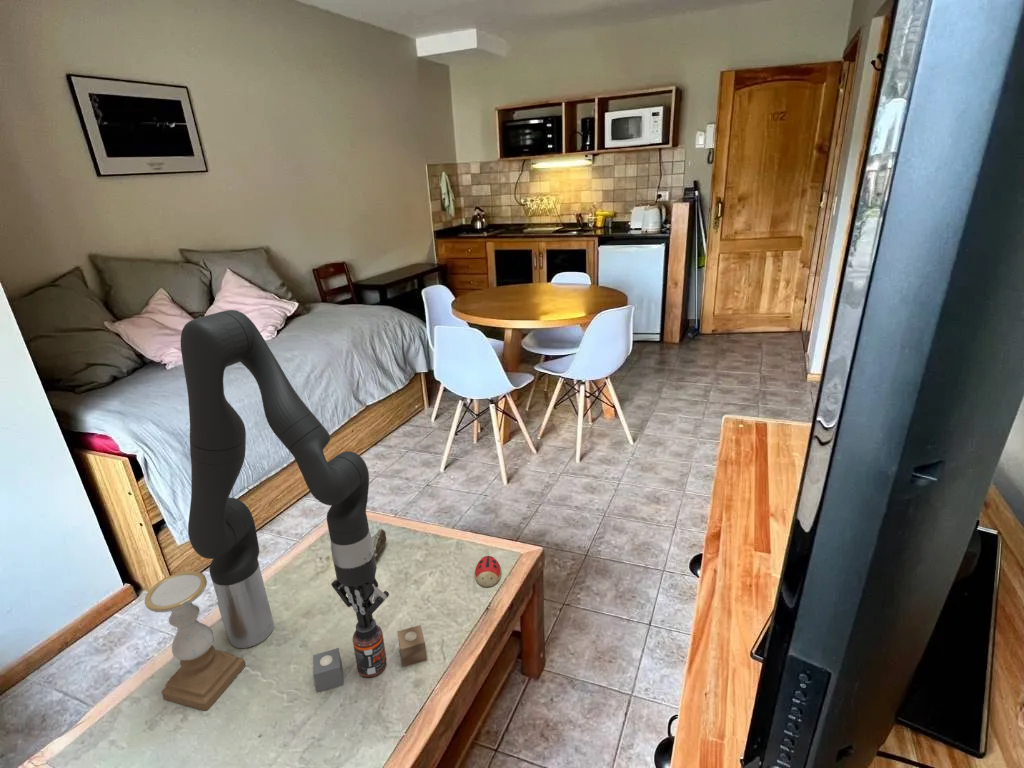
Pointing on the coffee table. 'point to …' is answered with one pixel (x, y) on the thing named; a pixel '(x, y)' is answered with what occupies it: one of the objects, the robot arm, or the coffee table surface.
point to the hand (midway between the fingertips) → (366, 624)
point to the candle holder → (192, 643)
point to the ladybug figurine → (487, 571)
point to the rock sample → (378, 541)
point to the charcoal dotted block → (327, 670)
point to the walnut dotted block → (412, 645)
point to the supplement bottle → (369, 649)
